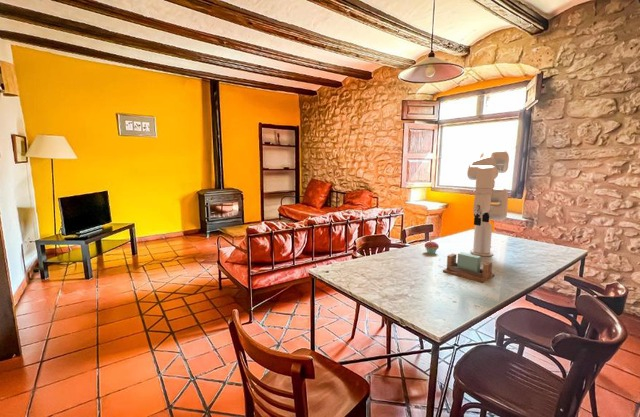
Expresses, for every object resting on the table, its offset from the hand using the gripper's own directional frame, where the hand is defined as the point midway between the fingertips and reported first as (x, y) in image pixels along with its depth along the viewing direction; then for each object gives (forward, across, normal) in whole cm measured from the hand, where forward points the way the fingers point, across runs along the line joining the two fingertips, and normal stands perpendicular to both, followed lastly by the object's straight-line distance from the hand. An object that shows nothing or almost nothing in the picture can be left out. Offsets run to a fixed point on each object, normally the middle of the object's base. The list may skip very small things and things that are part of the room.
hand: (481, 223), depth 156 cm
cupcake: (+26, -8, -33) cm, 43 cm away
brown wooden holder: (+25, +11, 0) cm, 27 cm away
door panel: (+24, +11, 0) cm, 26 cm away
